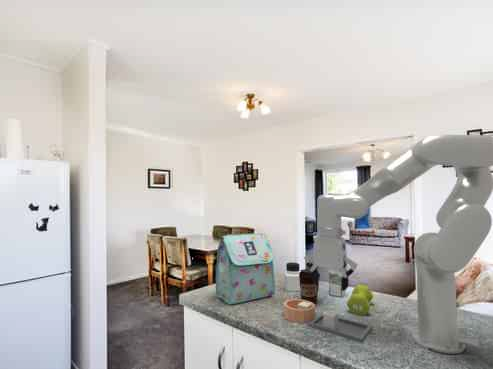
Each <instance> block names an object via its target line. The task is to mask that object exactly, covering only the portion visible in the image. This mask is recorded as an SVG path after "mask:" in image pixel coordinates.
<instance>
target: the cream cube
mask: <svg viewBox="0 0 493 369" xmlns="http://www.w3.org/2000/svg"><path fill="white" fill-rule="evenodd" d="M311 307H312V304H311V303H307V302H301V303H299V304H298V305H297V308H298V309H303V310H304V309H309V308H311Z"/></svg>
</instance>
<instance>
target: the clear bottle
mask: <svg viewBox="0 0 493 369" xmlns="http://www.w3.org/2000/svg"><path fill="white" fill-rule="evenodd" d="M342 277H343V275H342V274H341V273H340V271H339V270H332V269H328V288H329V289H328V294H329V296H331V297H337V298H343V297H344V296H346V290H344V291H342V288H341V278H342Z"/></svg>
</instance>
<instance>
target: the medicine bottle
mask: <svg viewBox="0 0 493 369" xmlns="http://www.w3.org/2000/svg"><path fill="white" fill-rule="evenodd" d="M285 268H286V270H285V271H284V272H283V273H284V278H283V280H284V283H283V284H284V285H283V286H284V290H285V291H286V292H300V279H299V273H300V264H299V263H298V262H294V261H290V262H287V263H286V265H285Z"/></svg>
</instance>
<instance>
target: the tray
mask: <svg viewBox="0 0 493 369" xmlns="http://www.w3.org/2000/svg"><path fill="white" fill-rule="evenodd" d="M323 313H324V312H321V313H320V314H319V315H318V316H315V319H314V320H313V321H311V322H308V327H309V328H312V329H315V330H319V331H321V332H325V333H329V334H332V335H336V336H339V337H342V338H345V339H348V340H351V341H355V342H359V343H363V342H364V341H365V339H366V338H367V336H368V335H369V334H370V333H371V331H372V330H373V325H371V324H368V323H363V322H358V321H357V320H356V321H355V320H351V319H349V318H344V317H340V316H338V328H337V329H336V330H335V329H332V328H328V327H325V326H323Z"/></svg>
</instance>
